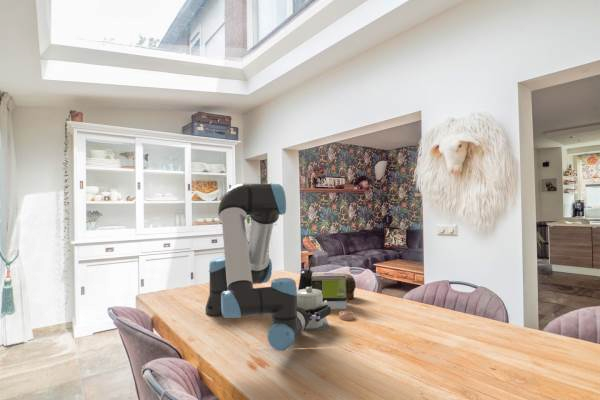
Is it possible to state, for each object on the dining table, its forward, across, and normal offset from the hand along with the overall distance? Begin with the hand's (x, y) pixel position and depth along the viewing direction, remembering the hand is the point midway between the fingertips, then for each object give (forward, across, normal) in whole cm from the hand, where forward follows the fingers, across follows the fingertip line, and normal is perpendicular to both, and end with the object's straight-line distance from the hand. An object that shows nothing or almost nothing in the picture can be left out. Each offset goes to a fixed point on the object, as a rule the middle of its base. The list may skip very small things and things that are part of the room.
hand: (312, 303), depth 129 cm
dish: (+6, +12, -7) cm, 15 cm away
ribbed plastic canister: (-4, 0, -7) cm, 8 cm away
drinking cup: (+28, -13, -6) cm, 32 cm away
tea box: (+21, +2, -7) cm, 22 cm away
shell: (+36, +7, -7) cm, 37 cm away
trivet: (-4, 0, -7) cm, 8 cm away
